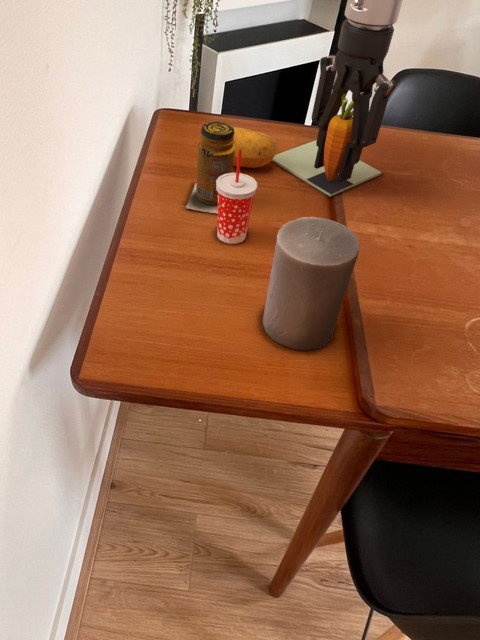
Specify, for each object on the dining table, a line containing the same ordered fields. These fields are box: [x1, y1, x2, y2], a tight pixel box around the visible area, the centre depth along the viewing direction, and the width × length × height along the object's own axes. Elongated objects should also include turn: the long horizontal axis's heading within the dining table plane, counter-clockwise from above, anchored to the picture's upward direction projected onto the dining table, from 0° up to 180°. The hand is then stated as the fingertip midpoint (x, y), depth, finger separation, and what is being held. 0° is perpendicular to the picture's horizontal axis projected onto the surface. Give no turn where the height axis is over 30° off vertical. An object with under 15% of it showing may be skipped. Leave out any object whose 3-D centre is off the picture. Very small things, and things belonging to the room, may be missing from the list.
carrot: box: [324, 93, 354, 182], centre depth 90 cm, size 5×5×15 cm
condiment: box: [185, 120, 235, 214], centre depth 86 cm, size 7×8×12 cm
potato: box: [232, 126, 278, 169], centre depth 97 cm, size 8×14×7 cm, turn 67°
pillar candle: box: [262, 216, 361, 351], centre depth 66 cm, size 10×10×15 cm
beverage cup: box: [216, 149, 258, 245], centre depth 79 cm, size 6×6×14 cm
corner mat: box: [271, 139, 382, 197], centre depth 100 cm, size 16×14×1 cm
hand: (332, 172), depth 94 cm, fingers closed on carrot, 5 cm apart
